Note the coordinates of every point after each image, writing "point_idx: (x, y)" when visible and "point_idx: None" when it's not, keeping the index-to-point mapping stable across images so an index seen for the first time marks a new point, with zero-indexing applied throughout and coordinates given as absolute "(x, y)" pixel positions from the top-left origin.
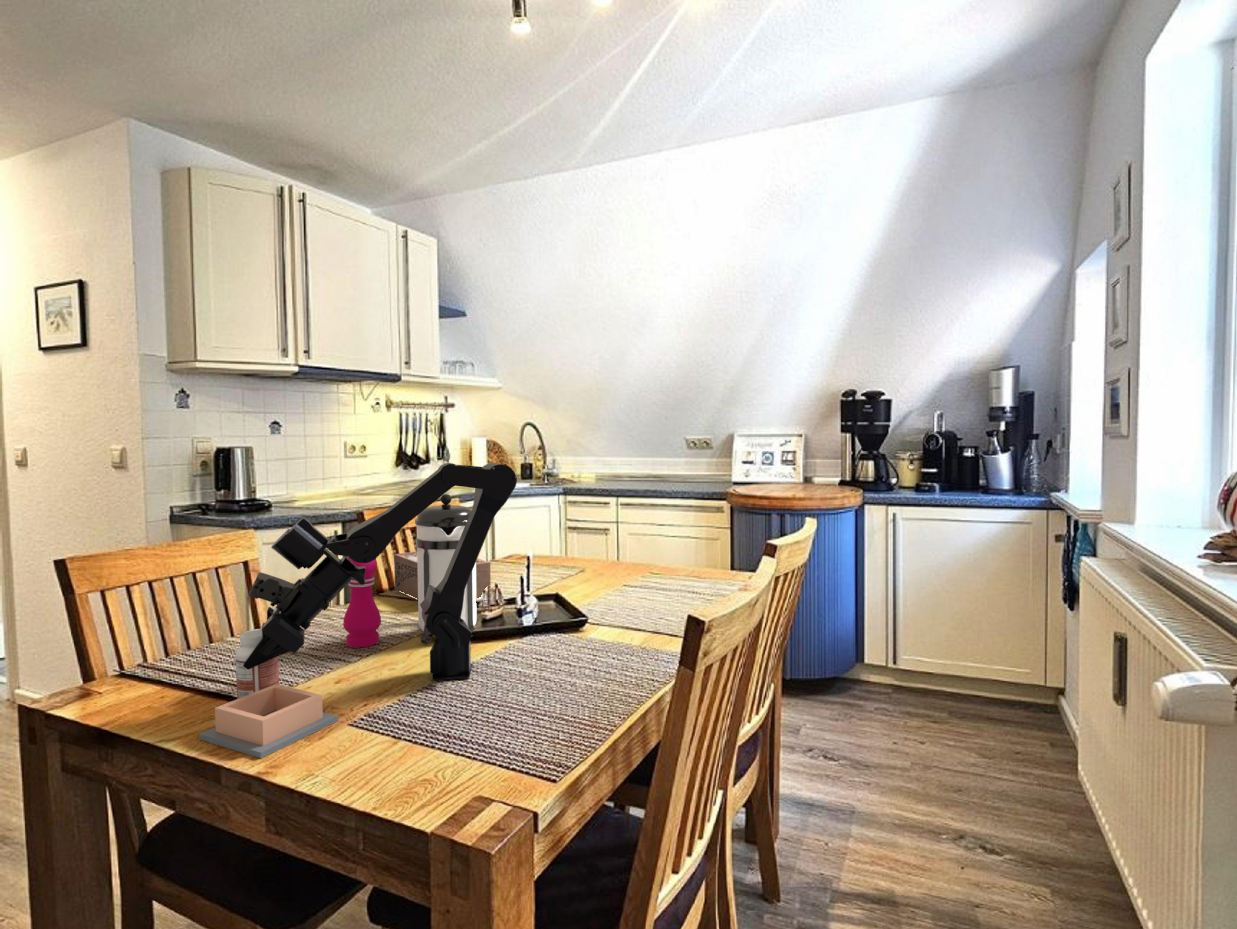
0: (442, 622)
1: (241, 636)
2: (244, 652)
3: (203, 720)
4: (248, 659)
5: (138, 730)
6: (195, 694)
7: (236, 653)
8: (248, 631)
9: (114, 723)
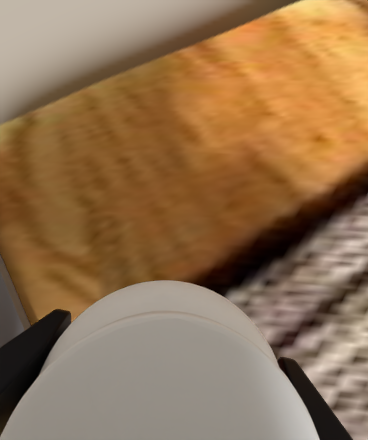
0: None
1: (124, 322)
2: (84, 327)
3: (95, 204)
4: (17, 340)
5: (126, 90)
6: (302, 203)
7: (152, 283)
8: (274, 412)
9: (198, 58)
